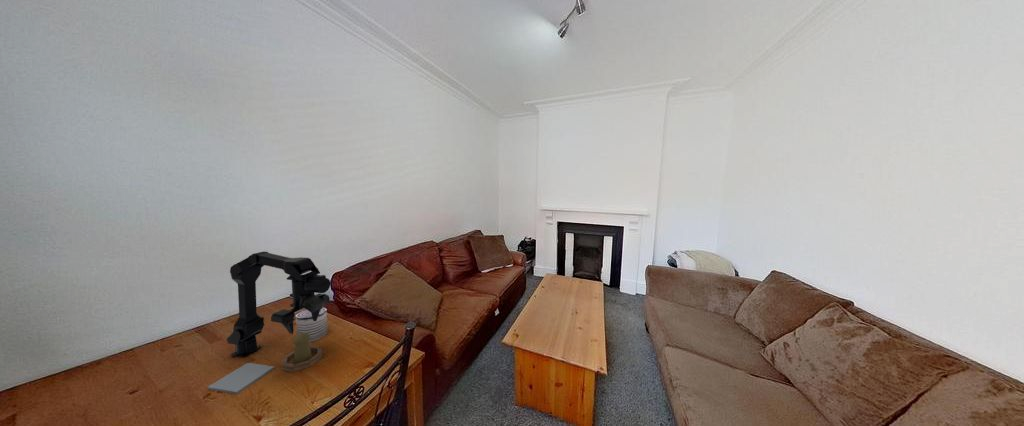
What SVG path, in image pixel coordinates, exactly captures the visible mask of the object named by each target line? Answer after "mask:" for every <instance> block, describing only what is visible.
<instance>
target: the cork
mask: <svg viewBox="0 0 1024 426" xmlns="http://www.w3.org/2000/svg"><path fill="white" fill-rule="evenodd" d="M309 339H310V335H309V334H308V333H301V334H299V335H297V334H296V335H295V337H294V338H293V340H292V341H293V344H294V350H295V352H294V358H293V360H292V361H293V362H292V364H298V363H301V362H304V361H308V360H310V359H311V358H312V357H313V352H311V349H310V345H311V344H310V342H309Z"/></svg>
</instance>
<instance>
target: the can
mask: <svg viewBox="0 0 1024 426" xmlns="http://www.w3.org/2000/svg"><path fill="white" fill-rule="evenodd" d="M327 310H328V309H327V308H326V307H324V306H323V308H322V309H321V310H320V312H319V315H318V318H317V320H316V321H313V318H312V314H311V312H309V311H308V310H307V309H304V310H301V311H299V313H298V312H297V314H296V315H295V316H294V317H295V322H296V323H295V324H296V336H297V335H299V334H301V333H308V334H309V335H310V339H309V343H310V342H314V341H317V340H319V339H321V338H323V337H325V336H326V334H327V333H328V318H327V315H328V314H327V313H328V312H327Z"/></svg>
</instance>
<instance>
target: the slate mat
mask: <svg viewBox="0 0 1024 426" xmlns="http://www.w3.org/2000/svg"><path fill="white" fill-rule="evenodd" d="M274 370H275V366H273V365H272V366H271V365H266V364H260V363H259V364H258V363H254V362H253V363H251V362H246V363H244V364H243V365H242V366H240V367H238V368H237V369H234V371H231V372H230V373H228V374H227V375H225V376H223V377H221V378H219V379H218V380H217V381H215V382H214V383H211V384H210V385H208V386H206V387H207V390H211V391H217V392H222V393H228V394H234V395H238V394H239V393H241V392H242V391H244V390H245V389H247V388H248V387H250V386H251V385H252V384H254V383H255V382H257V381H258V380H260V379H261V378H264V376H266V375H267V374H269V373H270V372H272V371H274Z"/></svg>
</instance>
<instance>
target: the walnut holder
mask: <svg viewBox="0 0 1024 426" xmlns="http://www.w3.org/2000/svg"><path fill="white" fill-rule="evenodd" d="M309 345H310V349H311V353H316V354H315V355H314V356H312V358H311V359H310V360H308V361H304V362H301V363H298V364H293V363H288V362H290V361H291V360H292V359H294V352H295V349H294V350H293V351H291V352H289V353H288V354H287V355H285V356H283V357H282V360H281V365H280V366H281V367H280V368H281V370H282V371H286V372H291V373H292V372H299V371H301V370H304V369H306V368H309V367H312V366H313V365H314V364H316V363H317V362H318V361H320V360H321V359H322V358H323V348H322V346H320V345H314V344H309Z"/></svg>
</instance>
